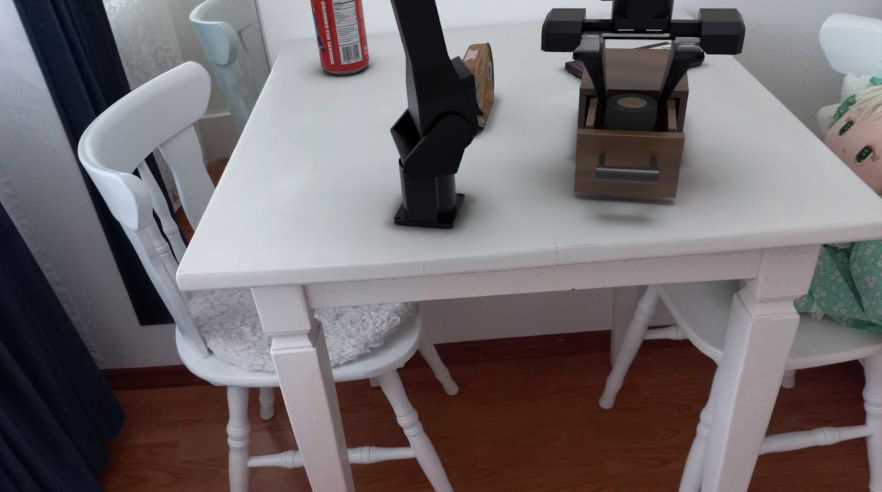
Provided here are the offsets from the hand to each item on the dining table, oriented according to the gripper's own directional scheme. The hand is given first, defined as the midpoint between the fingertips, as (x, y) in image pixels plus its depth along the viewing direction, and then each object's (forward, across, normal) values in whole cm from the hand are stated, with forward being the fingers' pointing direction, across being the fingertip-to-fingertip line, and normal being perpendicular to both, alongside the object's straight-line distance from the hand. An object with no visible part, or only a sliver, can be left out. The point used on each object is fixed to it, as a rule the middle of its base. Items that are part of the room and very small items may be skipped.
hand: (631, 113), depth 73 cm
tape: (+2, 0, +1) cm, 2 cm away
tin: (+8, +20, -16) cm, 27 cm away
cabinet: (+8, 0, -11) cm, 14 cm away
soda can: (+8, +45, -32) cm, 56 cm away
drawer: (+7, 0, +1) cm, 7 cm away
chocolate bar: (+8, 0, -35) cm, 36 cm away
